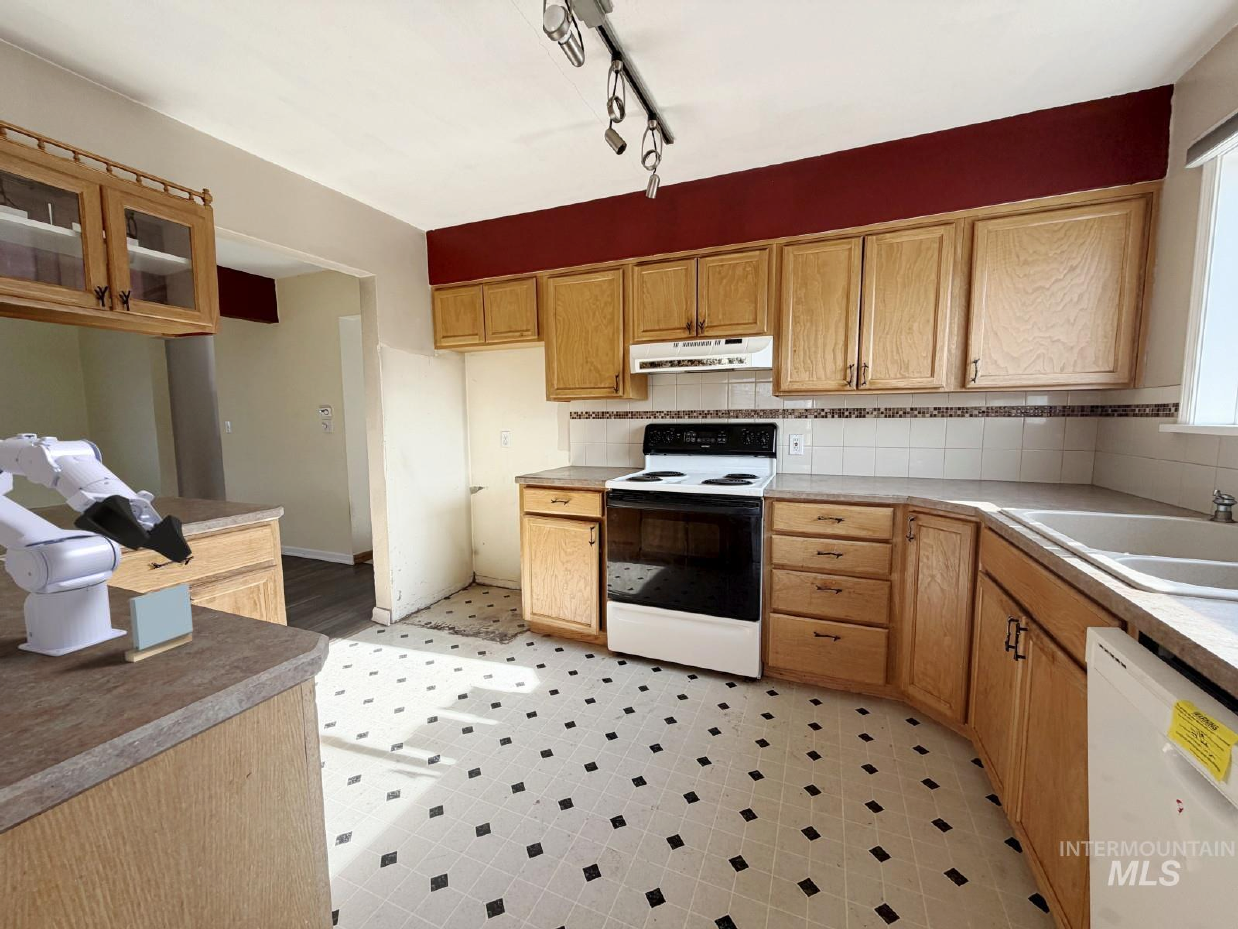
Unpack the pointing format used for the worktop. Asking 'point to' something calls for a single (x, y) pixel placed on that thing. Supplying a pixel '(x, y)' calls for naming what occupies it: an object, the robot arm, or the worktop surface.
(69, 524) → the worktop surface
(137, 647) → the panel
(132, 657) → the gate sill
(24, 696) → the worktop surface
